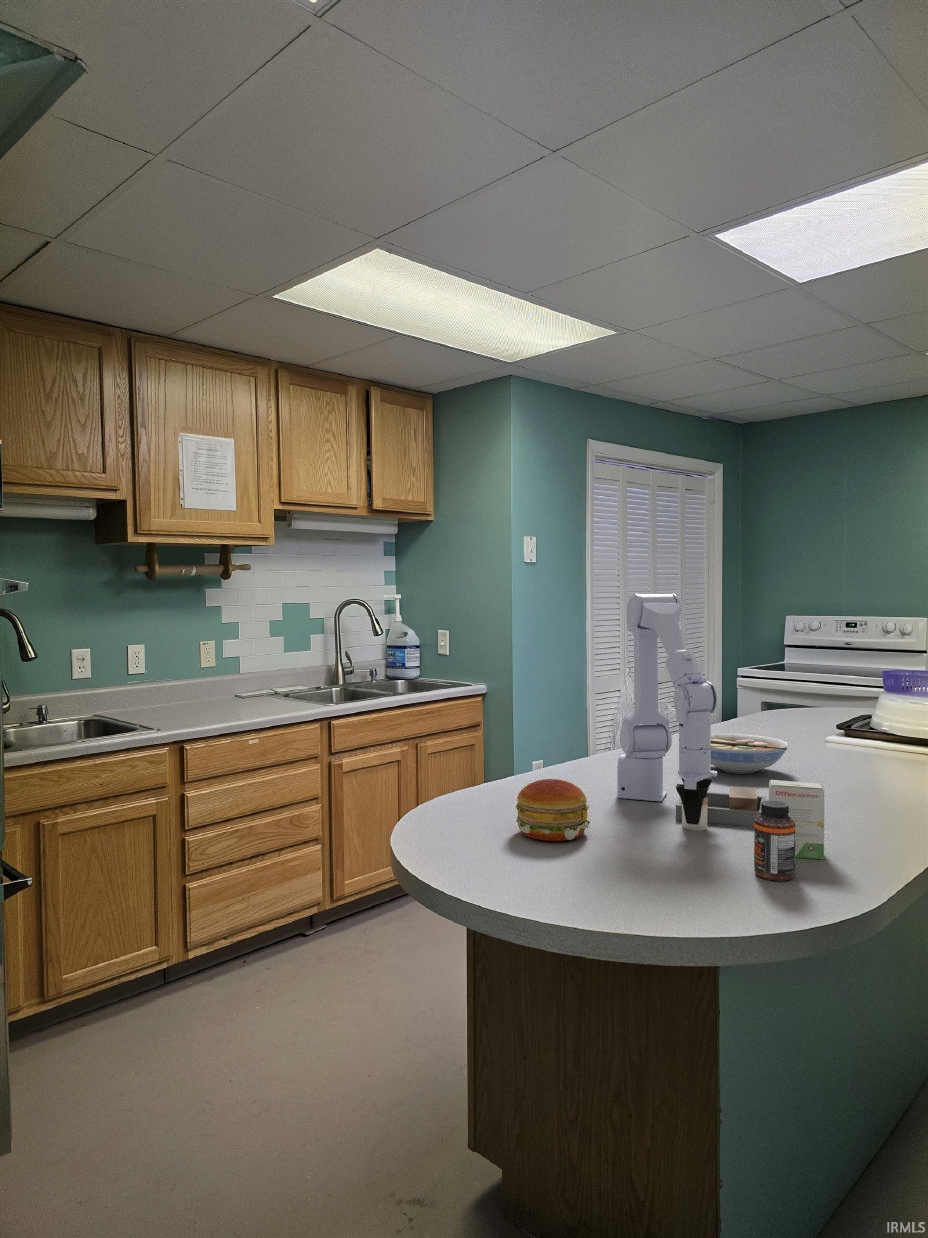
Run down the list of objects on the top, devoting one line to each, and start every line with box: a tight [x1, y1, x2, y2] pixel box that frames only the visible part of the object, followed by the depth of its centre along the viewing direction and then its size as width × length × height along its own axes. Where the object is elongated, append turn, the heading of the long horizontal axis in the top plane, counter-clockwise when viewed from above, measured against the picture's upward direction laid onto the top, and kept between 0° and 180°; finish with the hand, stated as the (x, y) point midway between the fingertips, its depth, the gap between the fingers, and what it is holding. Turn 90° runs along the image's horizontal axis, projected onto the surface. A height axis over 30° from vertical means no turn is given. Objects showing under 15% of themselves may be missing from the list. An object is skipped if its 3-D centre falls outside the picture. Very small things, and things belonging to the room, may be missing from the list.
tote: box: [675, 791, 767, 828], centre depth 161 cm, size 16×13×3 cm
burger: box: [515, 778, 591, 842], centre depth 149 cm, size 14×14×10 cm
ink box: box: [768, 779, 825, 860], centre depth 137 cm, size 9×5×12 cm, turn 71°
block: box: [728, 786, 758, 811], centre depth 159 cm, size 5×9×5 cm, turn 161°
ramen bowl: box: [711, 733, 789, 775], centre depth 201 cm, size 25×23×8 cm
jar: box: [681, 797, 708, 832], centre depth 153 cm, size 5×5×6 cm
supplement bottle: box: [753, 799, 796, 882], centre depth 126 cm, size 6×6×11 cm
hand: (694, 819), depth 153 cm, fingers open, 6 cm apart
